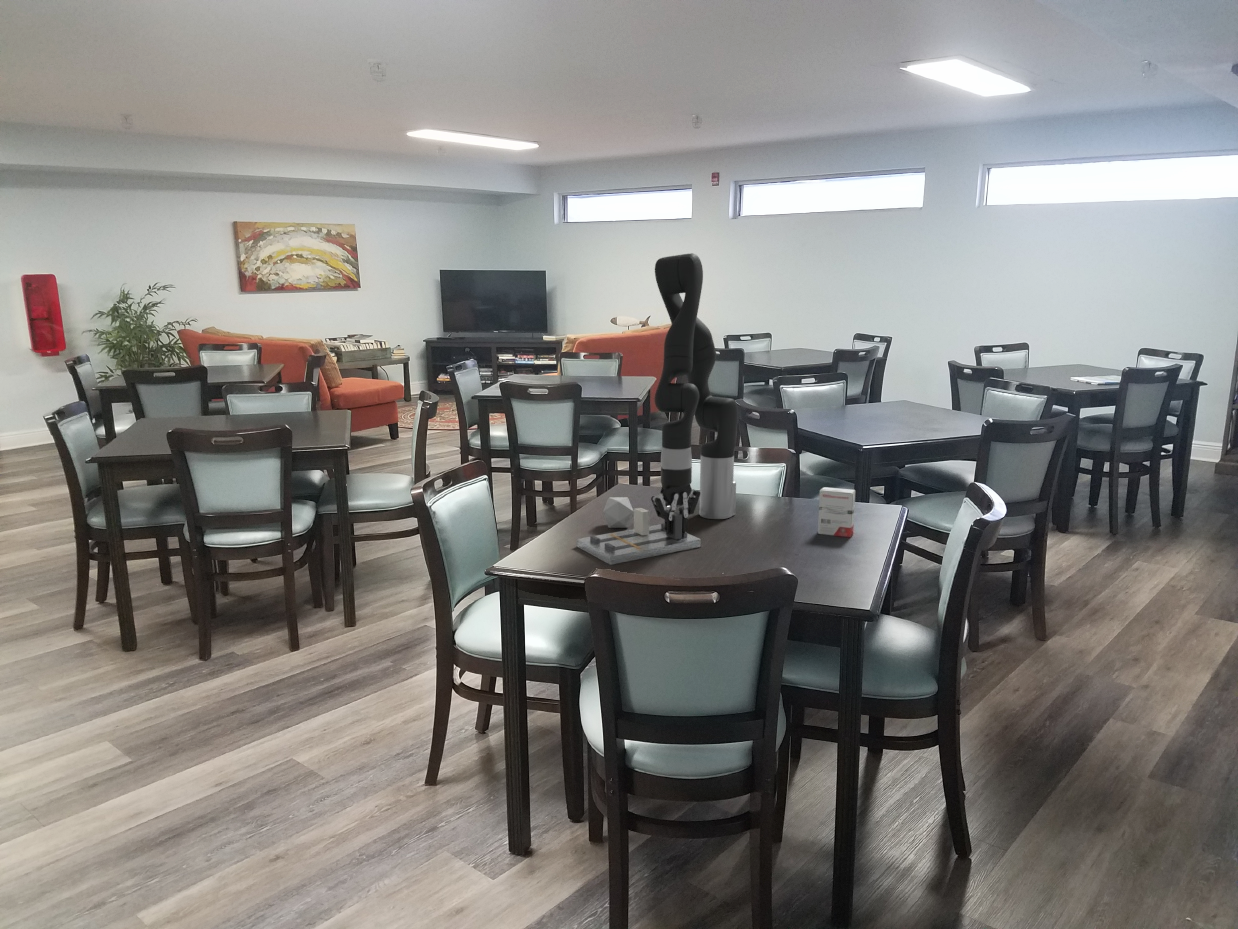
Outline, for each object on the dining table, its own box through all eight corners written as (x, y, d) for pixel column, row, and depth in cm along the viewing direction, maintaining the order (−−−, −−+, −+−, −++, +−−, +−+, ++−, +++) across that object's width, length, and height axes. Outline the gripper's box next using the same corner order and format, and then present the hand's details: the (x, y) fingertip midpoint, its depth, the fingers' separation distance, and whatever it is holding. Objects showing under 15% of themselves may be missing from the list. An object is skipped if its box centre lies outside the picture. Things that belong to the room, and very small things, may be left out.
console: (664, 530, 221) (664, 519, 221) (700, 546, 208) (701, 534, 207) (577, 546, 208) (577, 534, 207) (610, 564, 195) (610, 551, 194)
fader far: (640, 530, 214) (640, 507, 213) (649, 534, 211) (649, 511, 210) (633, 531, 213) (633, 508, 212) (642, 535, 210) (642, 512, 208)
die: (622, 535, 220) (642, 504, 221) (594, 518, 220) (614, 487, 222) (622, 537, 228) (640, 507, 229) (595, 520, 228) (613, 490, 230)
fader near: (672, 534, 211) (672, 511, 210) (681, 538, 208) (682, 514, 206) (665, 535, 210) (666, 512, 209) (675, 539, 206) (675, 515, 205)
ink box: (854, 533, 220) (856, 489, 217) (850, 538, 215) (853, 493, 213) (820, 529, 223) (823, 485, 221) (816, 533, 219) (819, 489, 216)
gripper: (690, 458, 212) (689, 524, 215) (643, 465, 205) (643, 533, 208) (708, 464, 205) (707, 532, 209) (661, 471, 198) (660, 541, 202)
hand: (675, 532), depth 209 cm, fingers open, 3 cm apart
